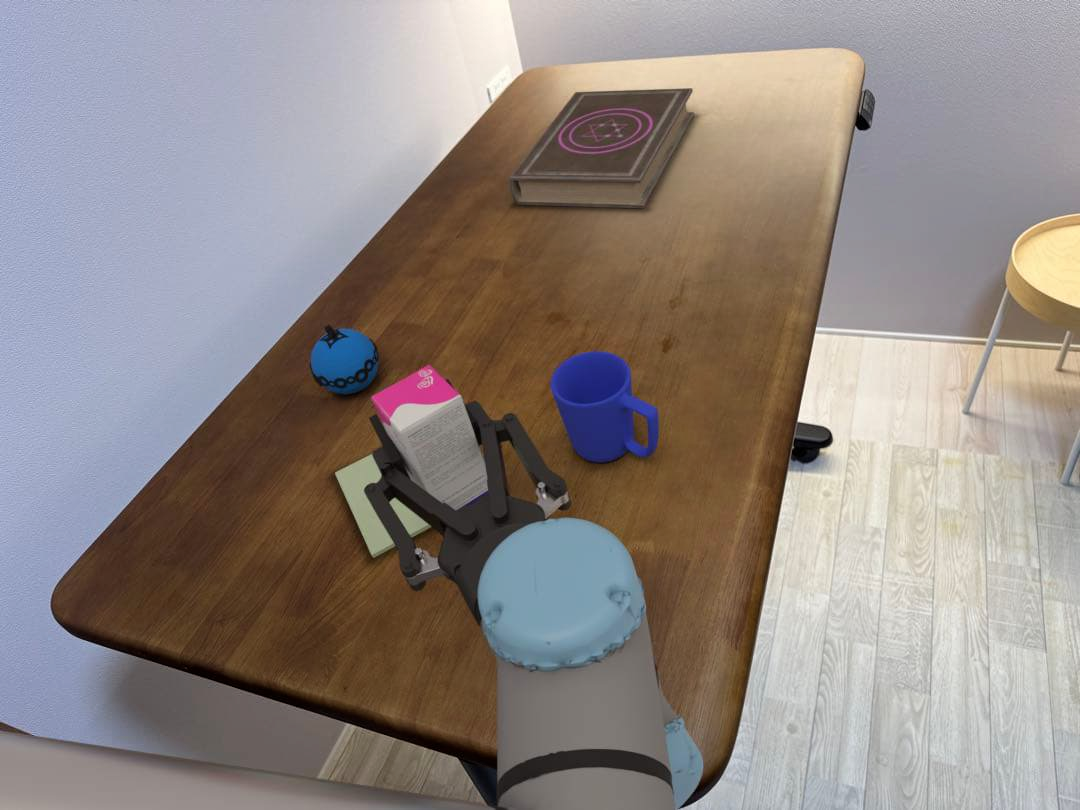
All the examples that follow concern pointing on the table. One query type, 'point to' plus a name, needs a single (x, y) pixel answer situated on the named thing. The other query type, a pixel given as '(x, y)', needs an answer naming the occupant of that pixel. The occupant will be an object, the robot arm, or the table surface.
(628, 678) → the robot arm
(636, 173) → the book
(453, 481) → the supplement box
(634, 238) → the table surface
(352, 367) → the ornament
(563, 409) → the mug
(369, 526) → the pale green square tile
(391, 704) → the table surface
